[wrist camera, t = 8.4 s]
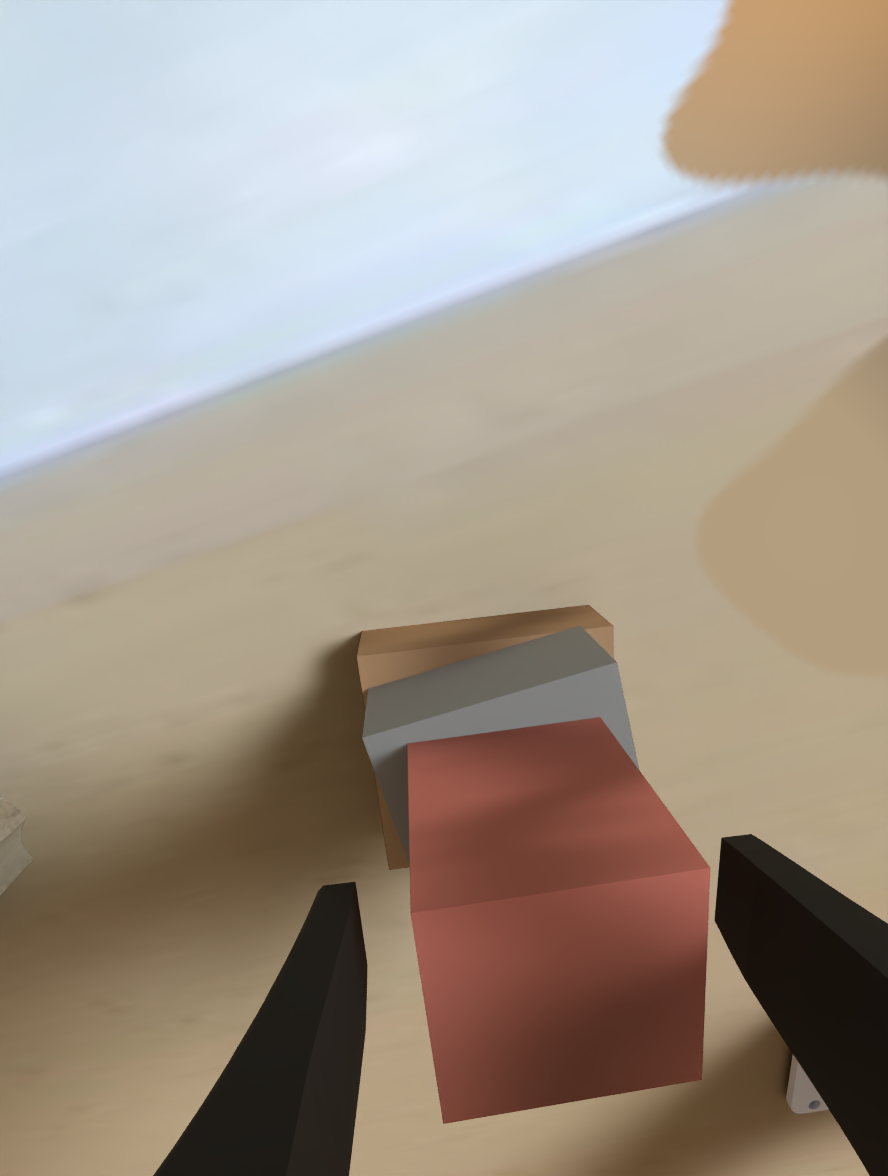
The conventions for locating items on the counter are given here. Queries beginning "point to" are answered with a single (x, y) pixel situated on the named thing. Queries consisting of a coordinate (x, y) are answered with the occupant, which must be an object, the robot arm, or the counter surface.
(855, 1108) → the robot arm
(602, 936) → the cube
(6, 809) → the egg carton
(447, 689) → the slate block
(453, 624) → the walnut block
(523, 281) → the counter surface
